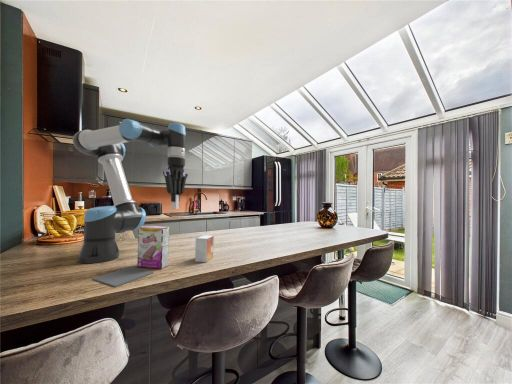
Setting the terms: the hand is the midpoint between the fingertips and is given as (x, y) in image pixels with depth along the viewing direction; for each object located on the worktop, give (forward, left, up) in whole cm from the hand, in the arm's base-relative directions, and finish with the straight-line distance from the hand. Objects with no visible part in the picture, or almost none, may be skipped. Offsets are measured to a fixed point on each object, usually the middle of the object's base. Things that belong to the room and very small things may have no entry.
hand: (175, 208), depth 99 cm
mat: (0, -23, -23) cm, 33 cm away
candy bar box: (0, -11, -23) cm, 26 cm away
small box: (+12, +7, -23) cm, 27 cm away
